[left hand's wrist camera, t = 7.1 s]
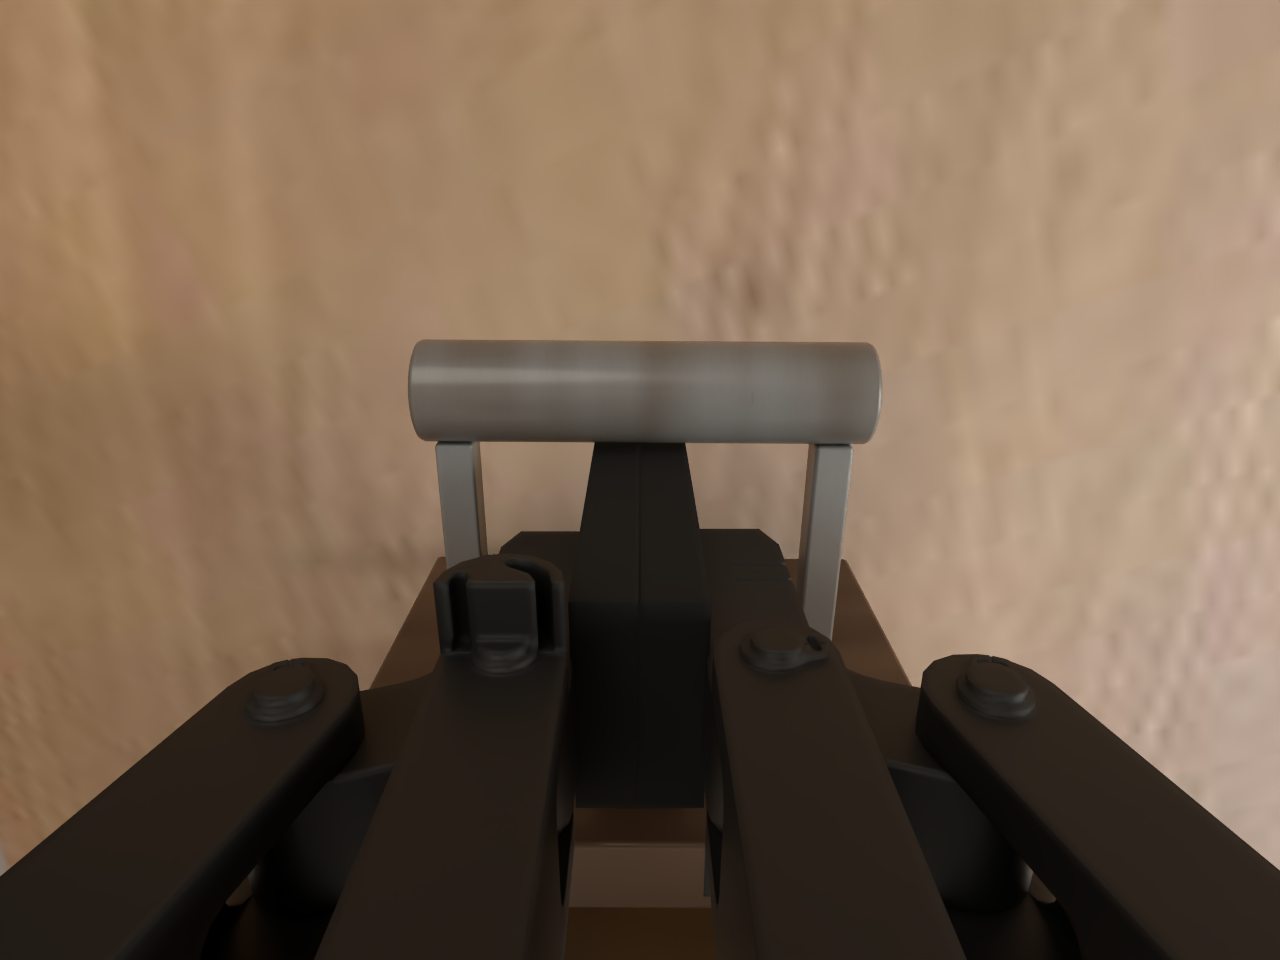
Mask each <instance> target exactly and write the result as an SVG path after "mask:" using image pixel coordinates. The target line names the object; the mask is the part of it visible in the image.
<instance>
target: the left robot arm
mask: <svg viewBox="0 0 1280 960" xmlns="http://www.w3.org/2000/svg"><path fill="white" fill-rule="evenodd" d="M433 590H434V599H435V608H436V617H437V626H438V635H439V645H440V655H439V658H438V660H437V663H436V665H435V667H434V670H433V672H432V673H429V674H427V675H424V676H422V677H420V678H417V679H413V680H410V681H406V682H402V683H399V684H394V685H389V686H384V687H379V688H374V689H369V690H364V691H360V690H359V684H358V678H357V675H356V674H355V673H354V672H353V671H352V670H351V669H350V668H349V667H348V666H347V665H346V664H343V663H340V662H337V661H334V660H331V659H328V658H297V659H291V660H289V661H288V660H284V661H280V662H276V663H273V664H271V665H269V666H266V667H264V668H261V669H259V670H256V671H253V672H251V673H249V674H247V675H246V676H244V677H242V678H241V679H239V680H238V681H236V682H235V683H233V684H232V685H230V686H228V687H227V688H226V689H225V690H223V691H222V692H221V693H220V694H219V695H217V696H216V697H215V698H214V699H213V700H211V701H210V702H209V703H208V704H207V705H205V706H204V707H203V708H202V709H201V710H199V711H198V712H197V713H196V714H195V715H193V716H192V717H191V718H190V719H189V720H187V721H186V722H185V723H184V724H183V725H181V726H180V727H179V728H178V729H177V730H175V731H174V732H173V733H172V734H171V735H169V736H168V737H167V738H166V739H165V740H163V741H162V742H161V743H160V744H159V745H157V746H156V747H155V748H154V749H153V750H151V751H150V752H149V753H148V754H147V755H145V756H144V757H143V758H142V759H141V760H139V761H138V762H137V763H136V764H135V765H133V766H132V767H131V768H130V769H129V770H127V771H126V772H125V773H124V774H123V775H121V776H120V777H119V778H118V779H117V780H115V781H114V782H113V783H112V784H111V785H109V786H108V787H107V788H106V789H105V790H103V791H102V792H101V793H100V794H99V795H97V796H96V797H95V798H94V799H93V800H91V801H90V802H89V803H88V804H87V805H85V806H84V807H83V808H82V809H81V810H79V811H78V812H77V813H76V814H75V815H73V816H72V817H71V818H70V819H69V820H67V821H66V822H65V823H64V824H63V825H61V826H60V827H59V828H58V829H57V830H55V831H54V832H53V833H52V834H51V835H49V836H48V837H47V838H46V839H45V840H43V841H42V842H41V843H40V844H39V845H37V846H36V847H35V848H34V849H33V850H31V851H30V852H29V853H28V854H27V855H25V856H24V857H23V858H22V859H21V860H19V861H18V862H17V863H16V864H15V865H13V866H12V867H11V868H10V869H9V870H7V871H6V872H5V873H4V874H3V875H2V876H0V960H564V953H565V942H566V932H567V921H568V910H569V900H570V889H571V879H572V868H573V857H574V847H575V841H574V817H573V807H574V798H575V799H576V808H704V794H705V795H706V805H707V817H706V841H705V866H704V891H703V897H710V899H711V909H712V920H713V930H714V941H715V952H716V960H1280V870H1278V869H1277V868H1276V867H1275V866H1274V865H1272V864H1271V863H1270V862H1269V861H1268V860H1266V859H1265V858H1264V857H1263V856H1261V855H1260V854H1259V853H1258V852H1257V851H1255V850H1254V849H1253V848H1252V847H1251V846H1249V845H1248V844H1247V843H1246V842H1245V841H1243V840H1242V839H1241V838H1240V837H1238V836H1237V835H1236V834H1235V833H1234V832H1232V831H1231V830H1230V829H1229V828H1228V827H1226V826H1225V825H1224V824H1223V823H1222V822H1220V821H1219V820H1218V819H1217V818H1216V817H1214V816H1213V815H1212V814H1211V813H1209V812H1208V811H1207V810H1206V809H1205V808H1203V807H1202V806H1201V805H1200V804H1199V803H1197V802H1196V801H1195V800H1194V799H1193V798H1191V797H1190V796H1189V795H1188V794H1186V793H1185V792H1184V791H1183V790H1182V789H1180V788H1179V787H1178V786H1177V785H1176V784H1174V783H1173V782H1172V781H1171V780H1170V779H1168V778H1167V777H1166V776H1165V775H1163V774H1162V773H1161V772H1160V771H1159V770H1157V769H1156V768H1155V767H1154V766H1153V765H1151V764H1150V763H1149V762H1148V761H1147V760H1145V759H1144V758H1143V757H1142V756H1140V755H1139V754H1138V753H1137V752H1136V751H1134V750H1133V749H1132V748H1131V747H1130V746H1128V745H1127V744H1126V743H1125V742H1124V741H1122V740H1121V739H1120V738H1119V737H1118V736H1116V735H1115V734H1114V733H1113V732H1111V731H1110V730H1109V729H1108V728H1107V727H1105V726H1104V725H1103V724H1102V723H1101V722H1099V721H1098V720H1097V719H1096V718H1095V717H1093V716H1092V715H1091V714H1090V713H1088V712H1087V711H1086V710H1085V709H1084V708H1082V707H1081V706H1080V705H1079V704H1078V703H1076V702H1075V701H1074V700H1073V699H1072V698H1070V697H1069V696H1068V695H1067V694H1065V693H1064V692H1063V691H1062V690H1061V689H1059V688H1058V687H1057V686H1056V685H1055V684H1053V683H1052V682H1050V681H1049V680H1047V679H1046V678H1044V677H1042V676H1041V675H1039V674H1038V673H1036V672H1035V671H1033V670H1031V669H1029V668H1026V667H1024V666H1021V665H1019V664H1016V663H1013V662H1011V661H1009V660H1007V659H1003V658H999V657H995V656H992V657H990V656H989V655H980V654H966V655H951V656H948V657H945V658H941V659H938V660H935V661H933V662H932V663H931V664H930V665H929V666H928V668H927V669H926V670H925V671H924V672H923V676H922V683H921V688H918V687H913V686H908V685H903V684H898V683H893V682H888V681H883V680H879V679H875V678H872V677H868V676H864V675H861V674H859V673H856V672H854V671H852V670H849V669H847V668H846V666H845V664H844V661H843V659H842V657H841V654H840V652H839V651H838V649H837V648H836V647H835V645H834V644H833V643H832V641H831V640H830V639H829V638H828V637H826V636H824V635H823V634H821V633H819V632H818V631H816V630H815V629H813V628H811V627H809V624H808V622H807V619H806V616H805V614H804V611H803V608H802V606H801V603H800V600H799V598H798V595H797V592H796V590H795V587H794V584H793V582H792V581H791V576H790V574H789V571H788V568H787V566H785V560H784V558H783V555H782V552H781V549H780V547H779V544H777V543H776V542H775V541H774V540H772V539H771V538H770V537H768V536H767V535H766V534H765V533H763V532H762V531H761V530H759V529H699V523H698V517H697V511H696V505H695V499H694V493H693V487H692V481H691V475H690V469H689V463H688V457H687V452H686V446H685V443H624V442H595V444H594V450H593V456H592V462H591V468H590V474H589V480H588V486H587V492H586V498H585V504H584V510H583V516H582V522H581V528H580V532H520V533H519V534H517V535H516V536H515V537H514V538H512V539H511V540H510V541H508V542H507V543H506V544H505V545H503V546H502V547H501V549H500V552H499V554H497V555H485V556H481V557H477V558H474V559H470V560H466V561H463V562H460V563H458V564H456V565H455V566H453V567H451V568H449V569H447V570H445V571H443V573H442V574H441V575H440V576H439V577H438V578H437V579H436V580H435V581H434V582H433Z"/></svg>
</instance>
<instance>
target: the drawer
mask: <svg viewBox="0 0 1280 960" xmlns="http://www.w3.org/2000/svg"><path fill="white" fill-rule="evenodd" d="M408 400H409V409H410V415H411V419H412V423H413V426H414V429H415V431H416V434H417V435H418V437H419V438H420V439H422V440H424V441H438V443H437V444H436V446H435V450H436V461H437V471H438V482H439V492H440V503H441V513H442V524H443V534H444V545H445V555H446V557H439V558H438V559H437V561H436V563H435V565H434V566H433V568H432V570H431V572H430V574H429V576H428V578H427V580H426V582H425V584H424V586H423V588H422V589H421V591H420V593H419V595H418V597H417V599H416V601H415V603H414V605H413V607H412V609H411V610H410V612H409V614H408V616H407V618H406V620H405V622H404V624H403V626H402V628H401V630H400V631H399V633H398V635H397V637H396V639H395V641H394V643H393V645H392V647H391V649H390V651H389V653H388V654H387V656H386V658H385V660H384V662H383V664H382V666H381V668H380V670H379V672H378V674H377V675H376V677H375V679H374V681H373V683H372V685H371V687H370V689H374V688H379V687H384V686H389V685H394V684H399V683H402V682H406V681H410V680H413V679H417V678H420V677H422V676H424V675H427V674H429V673H432V672H433V670H434V667H435V665H436V663H437V660H438V658H439V655H440V645H439V635H438V626H437V617H436V608H435V599H434V590H433V582H434V581H435V580H436V579H437V578H438V577H439V576H440V575H441V574H442V573H443V571H445V570H447V569H449V568H451V567H453V566H455V565H456V564H458V563H460V562H463V561H466V560H470V559H474V558H477V557H481V556H485V555H488V551H487V537H486V523H485V510H484V496H483V482H482V469H481V455H480V442H624V443H774V444H809V450H808V461H807V472H806V483H805V494H804V505H803V516H802V527H801V538H800V549H799V559H784V560H785V566H787V568H788V571H789V574H790V576H791V581H792V582H793V584H794V587H795V590H796V592H797V595H798V598H799V600H800V603H801V606H802V608H803V611H804V614H805V616H806V619H807V622H808V624H809V627H811V628H813V629H815V630H816V631H818V632H819V633H821V634H823V635H824V636H826V637H828V638H829V639H830V640H831V641H832V643H833V644H834V645H835V647H836V648H837V649H838V651H839V652H840V654H841V657H842V659H843V661H844V664H845V666H846V668H847V669H849V670H852V671H854V672H856V673H859V674H861V675H864V676H868V677H872V678H875V679H879V680H883V681H888V682H893V683H898V684H903V685H908V686H912V685H911V683H910V681H909V679H908V678H907V676H906V674H905V672H904V670H903V668H902V666H901V664H900V662H899V660H898V658H897V657H896V655H895V653H894V651H893V649H892V647H891V645H890V643H889V641H888V639H887V637H886V636H885V634H884V632H883V630H882V628H881V626H880V624H879V622H878V620H877V618H876V616H875V614H874V613H873V611H872V609H871V607H870V605H869V603H868V601H867V599H866V597H865V595H864V593H863V592H862V590H861V588H860V586H859V584H858V582H857V580H856V578H855V576H854V574H853V572H852V571H851V569H850V567H849V565H848V563H847V561H846V560H843V559H841V554H842V545H843V536H844V528H845V519H846V510H847V501H848V492H849V484H850V475H851V466H852V457H853V448H852V446H851V445H850V444H864V443H867V442H869V441H870V440H871V438H872V437H873V435H874V433H875V430H876V427H877V424H878V420H879V416H880V410H881V402H882V373H881V366H880V361H879V357H878V354H877V351H876V349H875V348H874V346H873V345H871V344H869V343H848V342H700V341H551V340H421V341H419V342H418V343H417V344H416V345H415V347H414V349H413V352H412V356H411V360H410V365H409V373H408ZM573 817H574V841H575V847H574V857H573V868H572V879H571V889H570V900H569V910H568V921H567V932H566V942H565V953H564V960H716V952H715V941H714V930H713V920H712V909H711V899H710V897H703V891H704V866H705V841H706V817H707V805H706V795H705V794H704V808H576V799H575V798H574V807H573Z"/></svg>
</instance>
